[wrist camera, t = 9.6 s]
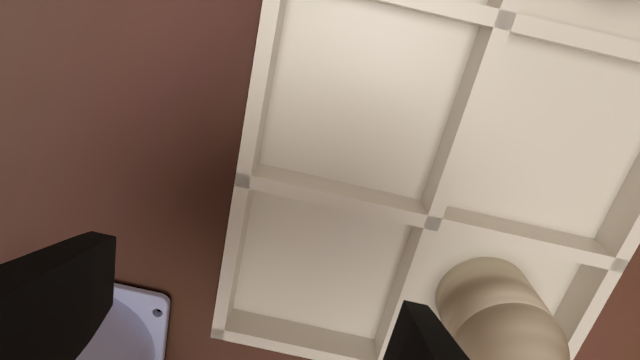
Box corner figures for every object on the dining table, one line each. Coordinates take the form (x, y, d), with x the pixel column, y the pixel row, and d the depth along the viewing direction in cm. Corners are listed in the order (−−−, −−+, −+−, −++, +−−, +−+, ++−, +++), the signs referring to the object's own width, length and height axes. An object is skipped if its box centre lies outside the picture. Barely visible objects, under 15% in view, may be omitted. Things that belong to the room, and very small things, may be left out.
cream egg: (508, 341, 21) (563, 446, 16) (423, 323, 21) (450, 423, 16) (543, 267, 19) (616, 358, 14) (452, 247, 19) (491, 331, 14)
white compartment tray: (526, 373, 22) (545, 409, 20) (222, 308, 22) (210, 337, 20) (820, -188, 14) (904, -225, 12) (325, -314, 13) (321, -375, 11)
